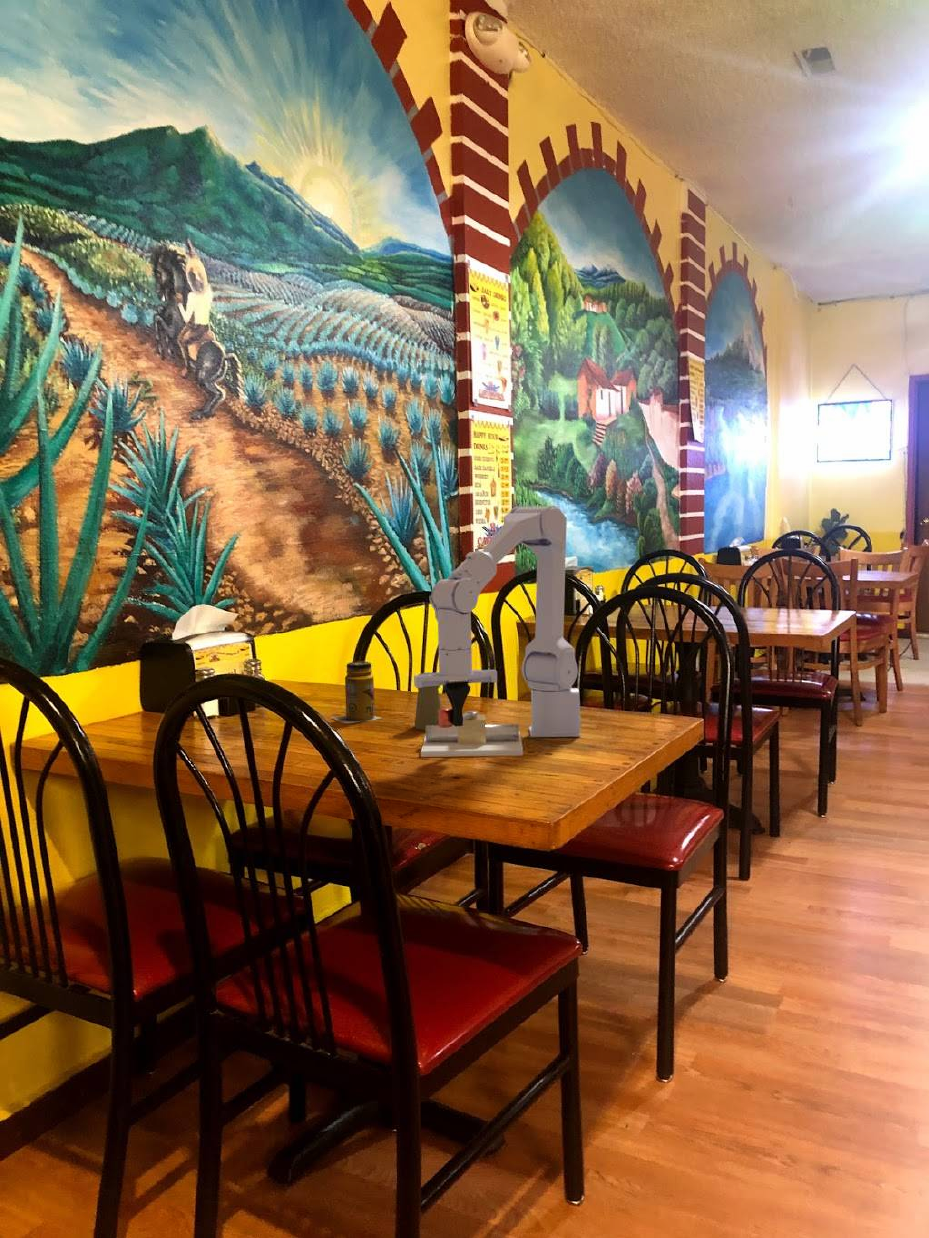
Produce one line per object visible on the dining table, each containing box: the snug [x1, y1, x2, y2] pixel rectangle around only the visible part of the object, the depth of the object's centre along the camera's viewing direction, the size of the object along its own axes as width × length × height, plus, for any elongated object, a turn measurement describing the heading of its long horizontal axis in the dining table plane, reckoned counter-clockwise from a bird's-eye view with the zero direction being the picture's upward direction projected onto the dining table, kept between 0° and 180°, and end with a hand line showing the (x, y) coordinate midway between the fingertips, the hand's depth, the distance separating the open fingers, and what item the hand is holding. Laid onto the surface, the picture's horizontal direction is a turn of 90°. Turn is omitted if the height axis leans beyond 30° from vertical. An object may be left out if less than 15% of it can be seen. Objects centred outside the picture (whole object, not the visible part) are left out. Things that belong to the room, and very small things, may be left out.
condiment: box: [330, 661, 382, 724], centre depth 205 cm, size 7×8×12 cm
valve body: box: [425, 714, 520, 744], centre depth 178 cm, size 17×5×4 cm, turn 89°
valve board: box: [420, 731, 524, 758], centre depth 178 cm, size 18×15×1 cm
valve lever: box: [438, 707, 479, 728], centre depth 174 cm, size 11×2×3 cm, turn 148°
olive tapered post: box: [413, 672, 442, 731], centre depth 196 cm, size 6×6×11 cm
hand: (457, 725), depth 169 cm, fingers closed, pressing on valve lever
